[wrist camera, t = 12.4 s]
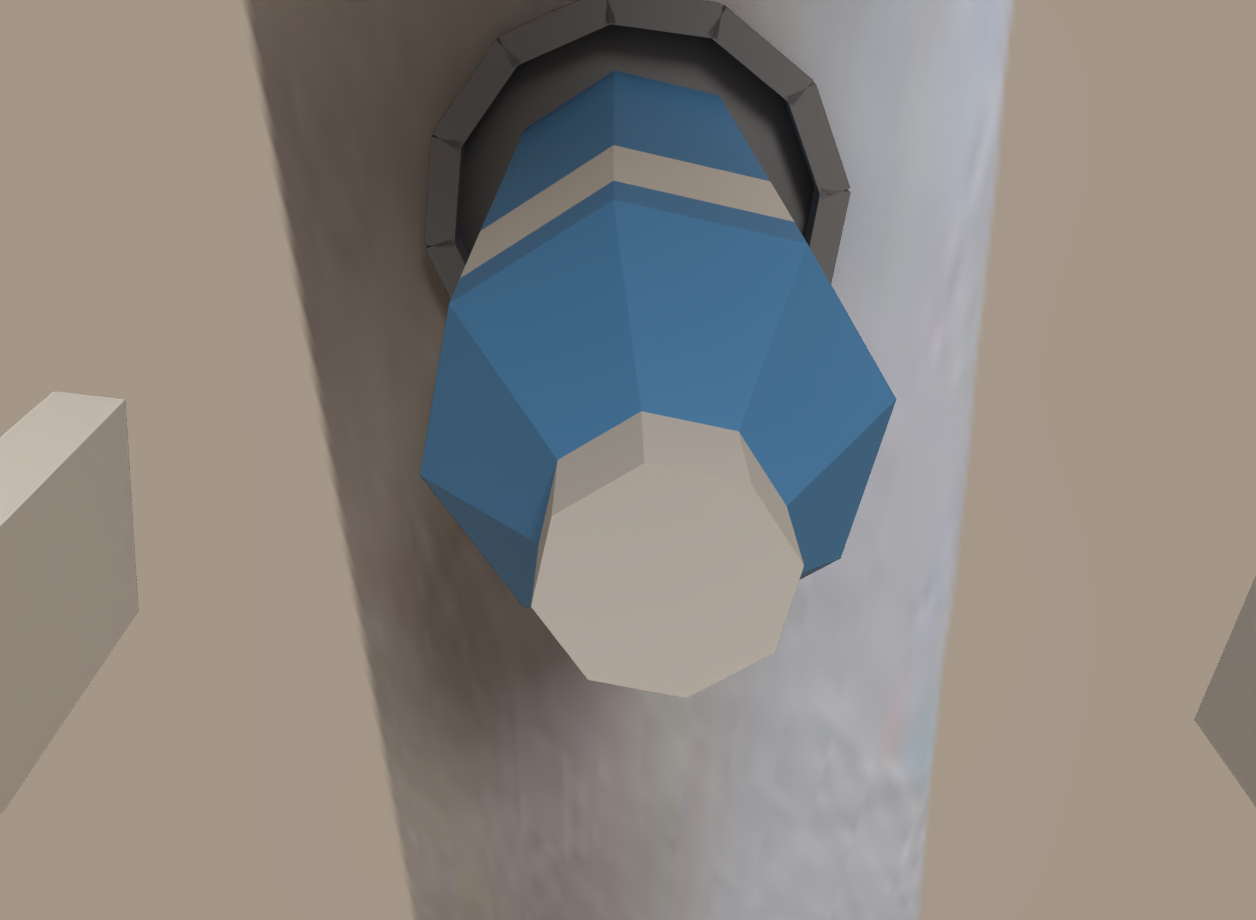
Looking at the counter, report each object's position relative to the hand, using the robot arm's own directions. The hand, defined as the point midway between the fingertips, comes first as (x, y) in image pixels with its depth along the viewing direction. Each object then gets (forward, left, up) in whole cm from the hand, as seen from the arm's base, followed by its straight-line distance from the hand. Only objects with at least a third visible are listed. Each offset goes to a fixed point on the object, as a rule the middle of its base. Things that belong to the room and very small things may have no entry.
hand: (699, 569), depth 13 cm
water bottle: (+2, 0, -29) cm, 29 cm away
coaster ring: (+2, 0, -29) cm, 29 cm away
